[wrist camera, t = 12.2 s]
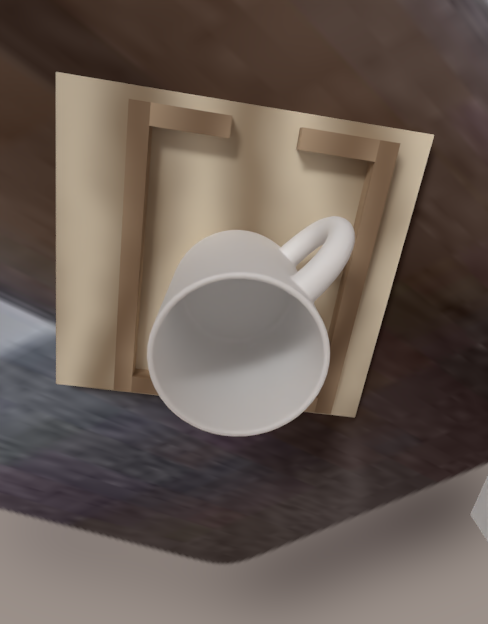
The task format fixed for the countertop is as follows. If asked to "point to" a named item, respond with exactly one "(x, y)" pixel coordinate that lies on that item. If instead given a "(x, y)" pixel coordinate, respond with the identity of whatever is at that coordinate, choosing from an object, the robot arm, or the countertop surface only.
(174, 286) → the mug
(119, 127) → the board
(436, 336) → the countertop surface
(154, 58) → the countertop surface
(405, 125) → the countertop surface
